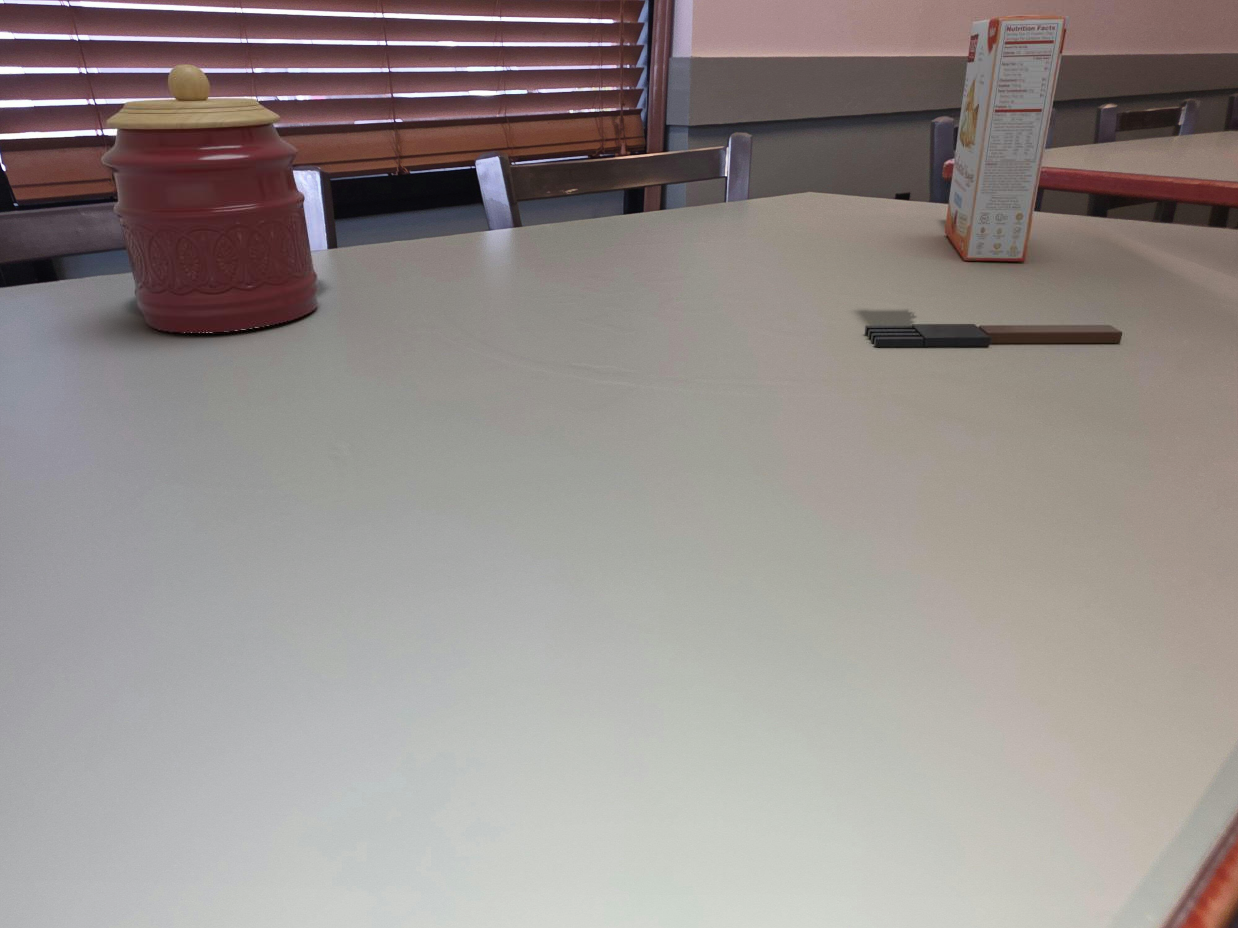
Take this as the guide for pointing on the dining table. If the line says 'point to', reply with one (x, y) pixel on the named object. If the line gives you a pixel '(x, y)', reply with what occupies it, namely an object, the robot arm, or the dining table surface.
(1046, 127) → the cracker box
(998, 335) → the fork
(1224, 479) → the dining table surface
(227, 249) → the kitchen canister
